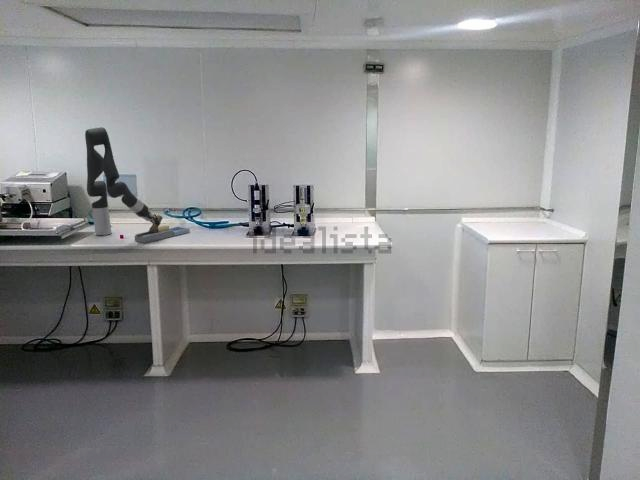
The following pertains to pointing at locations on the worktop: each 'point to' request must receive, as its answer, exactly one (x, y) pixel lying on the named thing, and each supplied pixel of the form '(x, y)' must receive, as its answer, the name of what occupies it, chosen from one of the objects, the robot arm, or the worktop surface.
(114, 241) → the worktop surface
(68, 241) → the worktop surface
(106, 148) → the robot arm
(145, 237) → the slotted plate
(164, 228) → the chip
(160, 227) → the chip
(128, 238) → the worktop surface
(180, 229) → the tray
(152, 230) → the scraper
